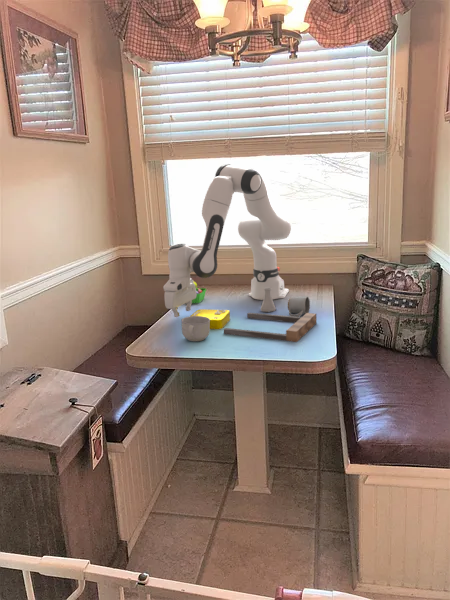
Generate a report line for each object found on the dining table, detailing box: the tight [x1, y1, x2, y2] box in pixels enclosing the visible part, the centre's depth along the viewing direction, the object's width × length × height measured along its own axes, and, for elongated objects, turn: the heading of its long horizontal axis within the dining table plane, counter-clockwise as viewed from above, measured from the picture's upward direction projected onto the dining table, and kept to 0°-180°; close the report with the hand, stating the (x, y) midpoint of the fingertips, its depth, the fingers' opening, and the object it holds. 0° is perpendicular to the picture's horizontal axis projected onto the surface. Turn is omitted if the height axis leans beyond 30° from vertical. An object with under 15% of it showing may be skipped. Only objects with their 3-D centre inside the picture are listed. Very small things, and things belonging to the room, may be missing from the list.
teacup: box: [181, 315, 211, 342], centre depth 194 cm, size 14×11×8 cm
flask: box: [259, 288, 277, 313], centre depth 228 cm, size 7×7×10 cm
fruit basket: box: [192, 281, 207, 304], centre depth 251 cm, size 11×9×11 cm
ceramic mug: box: [287, 296, 311, 317], centre depth 220 cm, size 11×8×8 cm
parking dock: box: [223, 312, 317, 343], centre depth 203 cm, size 24×30×4 cm
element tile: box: [190, 308, 231, 330], centre depth 215 cm, size 15×15×5 cm
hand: (182, 313), depth 222 cm, fingers open, 8 cm apart
